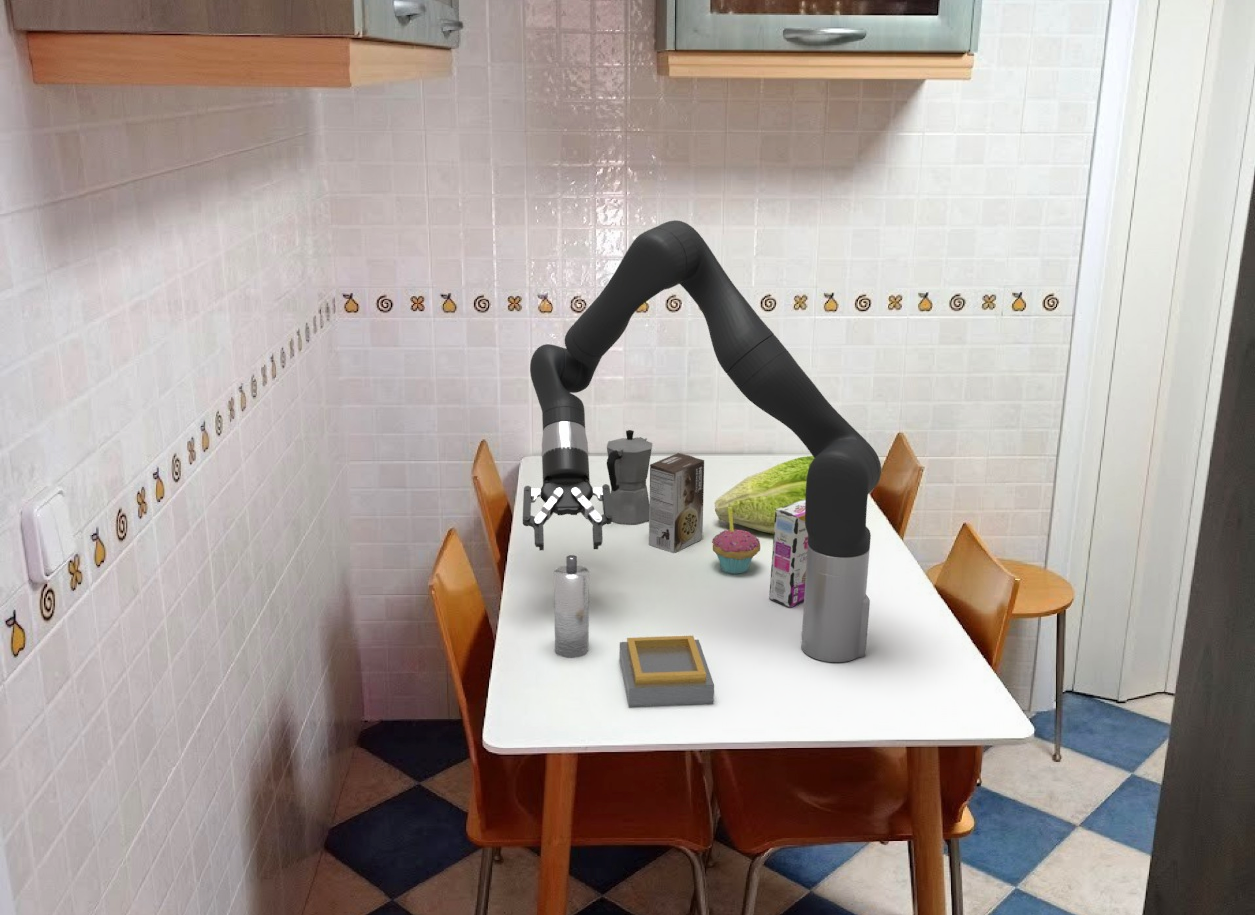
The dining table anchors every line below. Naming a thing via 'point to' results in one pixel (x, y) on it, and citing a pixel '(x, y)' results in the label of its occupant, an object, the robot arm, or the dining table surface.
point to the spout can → (571, 609)
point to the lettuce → (765, 495)
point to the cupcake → (735, 548)
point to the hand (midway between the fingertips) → (569, 548)
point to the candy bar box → (789, 555)
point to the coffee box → (676, 502)
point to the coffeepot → (629, 478)
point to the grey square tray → (665, 671)
